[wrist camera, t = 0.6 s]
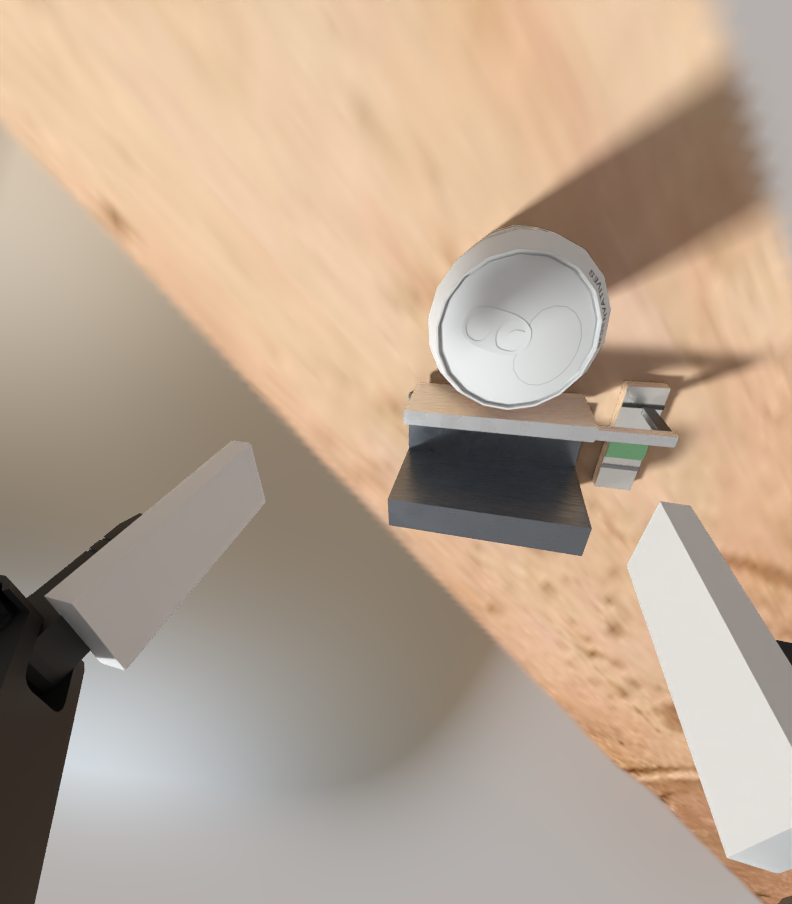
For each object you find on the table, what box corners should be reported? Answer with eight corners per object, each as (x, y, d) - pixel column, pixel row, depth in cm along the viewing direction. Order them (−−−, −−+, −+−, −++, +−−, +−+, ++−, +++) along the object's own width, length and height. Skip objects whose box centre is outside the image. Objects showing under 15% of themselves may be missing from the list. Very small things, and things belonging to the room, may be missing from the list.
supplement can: (589, 243, 26) (665, 266, 14) (535, 352, 31) (555, 443, 18) (480, 209, 26) (458, 202, 14) (443, 322, 31) (403, 389, 19)
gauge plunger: (418, 382, 33) (403, 410, 29) (651, 398, 29) (680, 435, 24) (418, 394, 34) (403, 424, 29) (645, 412, 30) (673, 450, 25)
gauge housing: (410, 367, 34) (383, 408, 27) (665, 383, 29) (718, 438, 22) (410, 468, 40) (389, 525, 33) (621, 494, 36) (651, 567, 28)
